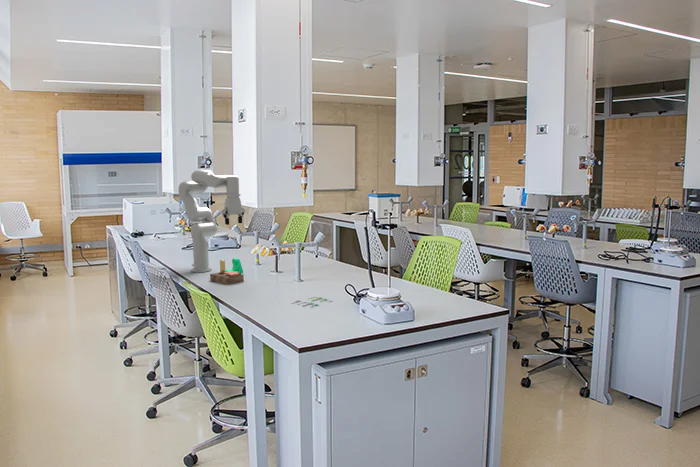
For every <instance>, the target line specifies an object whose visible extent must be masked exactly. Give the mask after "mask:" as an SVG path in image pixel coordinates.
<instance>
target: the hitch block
mask: <svg viewBox="0 0 700 467" xmlns="http://www.w3.org/2000/svg"><path fill="white" fill-rule="evenodd" d="M225 272H229V271H225ZM244 276H245V275H244V273H243V274H241V273H240V275H236V276H231V275H230V274H229V275H226V274H220V271H219V272H215V273H210V274H209V277H210V278H209V281H211V282H216V283H219V282H220V284H223V283H224V285H230V284H231V283H232V284H236V283H242V282H244V281H245V280H244V279H245V277H244Z"/></svg>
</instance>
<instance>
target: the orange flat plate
mask: <svg viewBox="0 0 700 467" xmlns="http://www.w3.org/2000/svg"><path fill="white" fill-rule="evenodd" d="M224 274H226V275H229V274H230V275H231V276H236V275H240V273H237V272H234V271H229V272H224Z"/></svg>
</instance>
